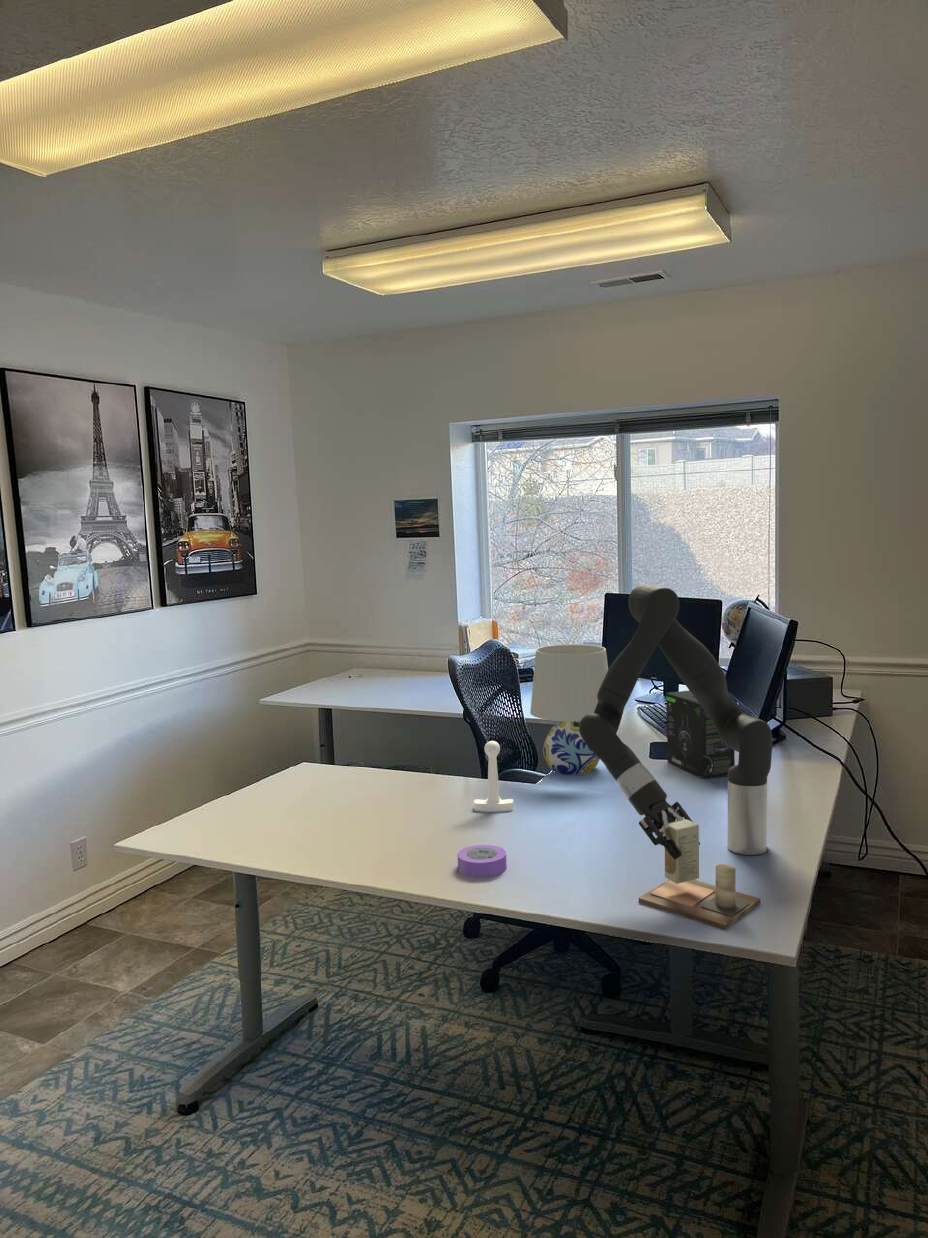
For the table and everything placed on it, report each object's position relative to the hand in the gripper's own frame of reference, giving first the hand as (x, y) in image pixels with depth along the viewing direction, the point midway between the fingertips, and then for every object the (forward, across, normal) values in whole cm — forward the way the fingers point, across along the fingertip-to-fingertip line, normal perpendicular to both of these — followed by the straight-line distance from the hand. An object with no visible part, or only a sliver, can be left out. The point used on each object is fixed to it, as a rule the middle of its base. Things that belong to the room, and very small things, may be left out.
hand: (687, 852), depth 190 cm
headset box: (-25, +91, +40) cm, 103 cm away
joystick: (-44, +20, +60) cm, 77 cm away
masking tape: (-25, -15, +41) cm, 50 cm away
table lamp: (-47, +65, +63) cm, 102 cm away
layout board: (+9, 0, +6) cm, 11 cm away
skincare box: (+4, 0, +6) cm, 7 cm away
